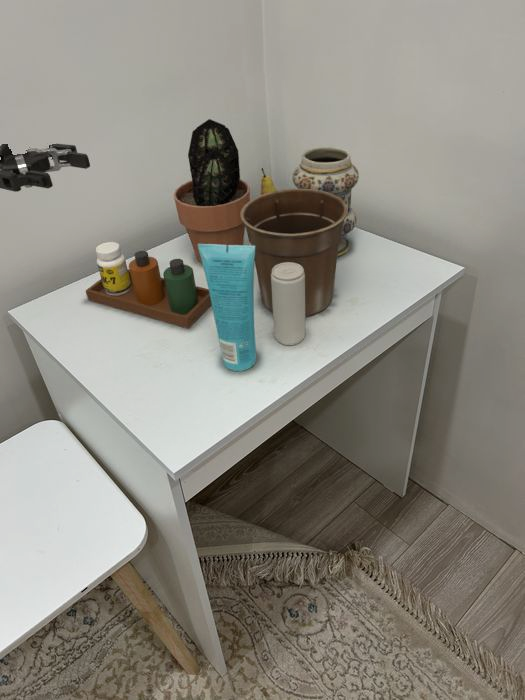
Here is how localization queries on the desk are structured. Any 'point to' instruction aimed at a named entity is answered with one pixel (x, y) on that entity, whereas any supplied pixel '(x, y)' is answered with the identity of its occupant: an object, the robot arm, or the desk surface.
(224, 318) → the tube
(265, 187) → the fruit
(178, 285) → the green bottle
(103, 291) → the serving tray
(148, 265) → the amber bottle
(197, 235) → the potted plant
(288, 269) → the beverage can
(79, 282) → the desk surface
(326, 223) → the plant pot
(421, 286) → the desk surface
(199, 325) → the desk surface
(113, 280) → the supplement bottle
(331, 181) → the apothecary jar
